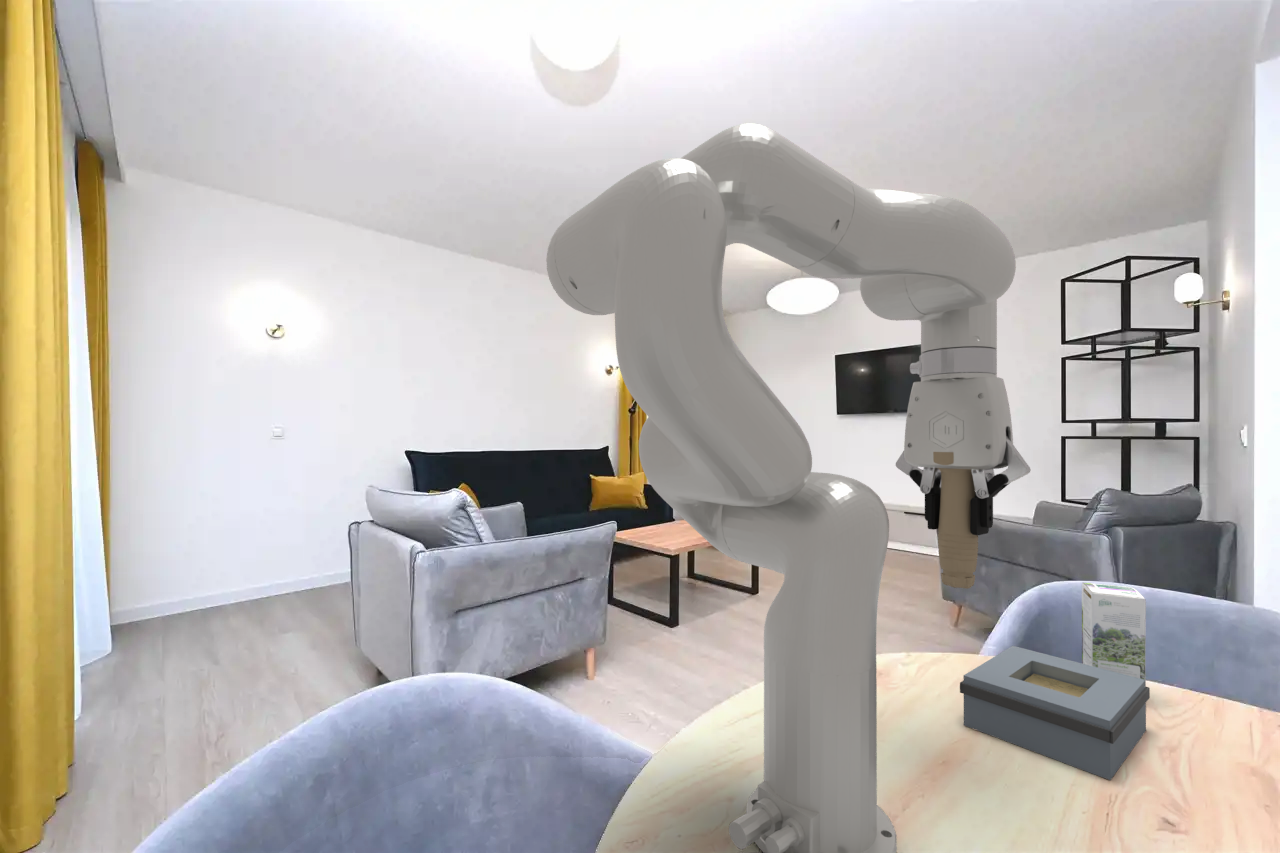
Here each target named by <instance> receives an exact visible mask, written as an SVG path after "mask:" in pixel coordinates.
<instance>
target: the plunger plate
mask: <svg viewBox="0 0 1280 853" xmlns="http://www.w3.org/2000/svg"><path fill="white" fill-rule="evenodd" d="M1024 681H1025V682H1029V683H1032V684H1036V685H1039V686H1042V687H1046V688H1049V689H1052V690H1056V691H1059V692H1063V693H1066V694H1069V695H1073V696H1076V697H1079V698H1080V697H1081V696H1082V695H1083V694H1084V693H1085V692H1086V691H1087V690H1088V689H1087V688H1083V687H1080V686H1076V685H1073V684H1069V683H1066V682H1062V681H1059V680H1055V679H1051V678H1048V677H1044V676H1041V675H1037V674H1032V675H1031V676H1030V677H1028V678H1027V679H1026V680H1024Z"/></svg>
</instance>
